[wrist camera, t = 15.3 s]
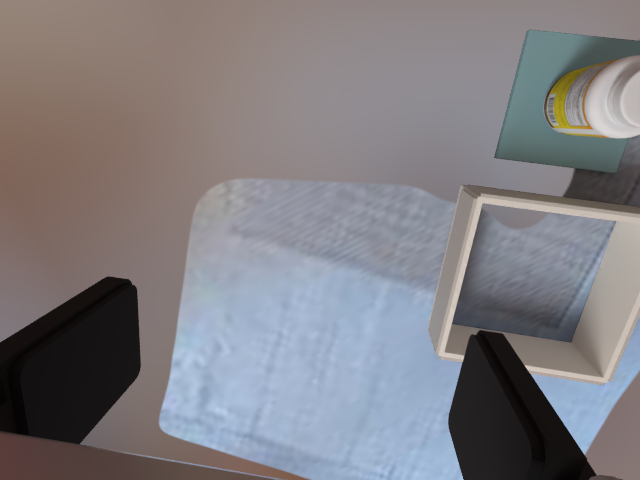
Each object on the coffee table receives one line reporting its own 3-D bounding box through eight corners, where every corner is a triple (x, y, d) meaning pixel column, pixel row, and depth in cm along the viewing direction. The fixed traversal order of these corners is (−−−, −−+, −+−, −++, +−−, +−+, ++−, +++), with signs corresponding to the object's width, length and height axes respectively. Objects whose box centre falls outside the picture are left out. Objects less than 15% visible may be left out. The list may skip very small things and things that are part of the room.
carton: (458, 181, 38) (475, 192, 32) (632, 203, 37) (681, 219, 31) (425, 326, 43) (434, 357, 38) (576, 349, 42) (609, 386, 36)
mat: (526, 31, 33) (529, 29, 33) (657, 44, 33) (662, 43, 32) (494, 157, 37) (496, 158, 36) (612, 172, 36) (616, 173, 36)
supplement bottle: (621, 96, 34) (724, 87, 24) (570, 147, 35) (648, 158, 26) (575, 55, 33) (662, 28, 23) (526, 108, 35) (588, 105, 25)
